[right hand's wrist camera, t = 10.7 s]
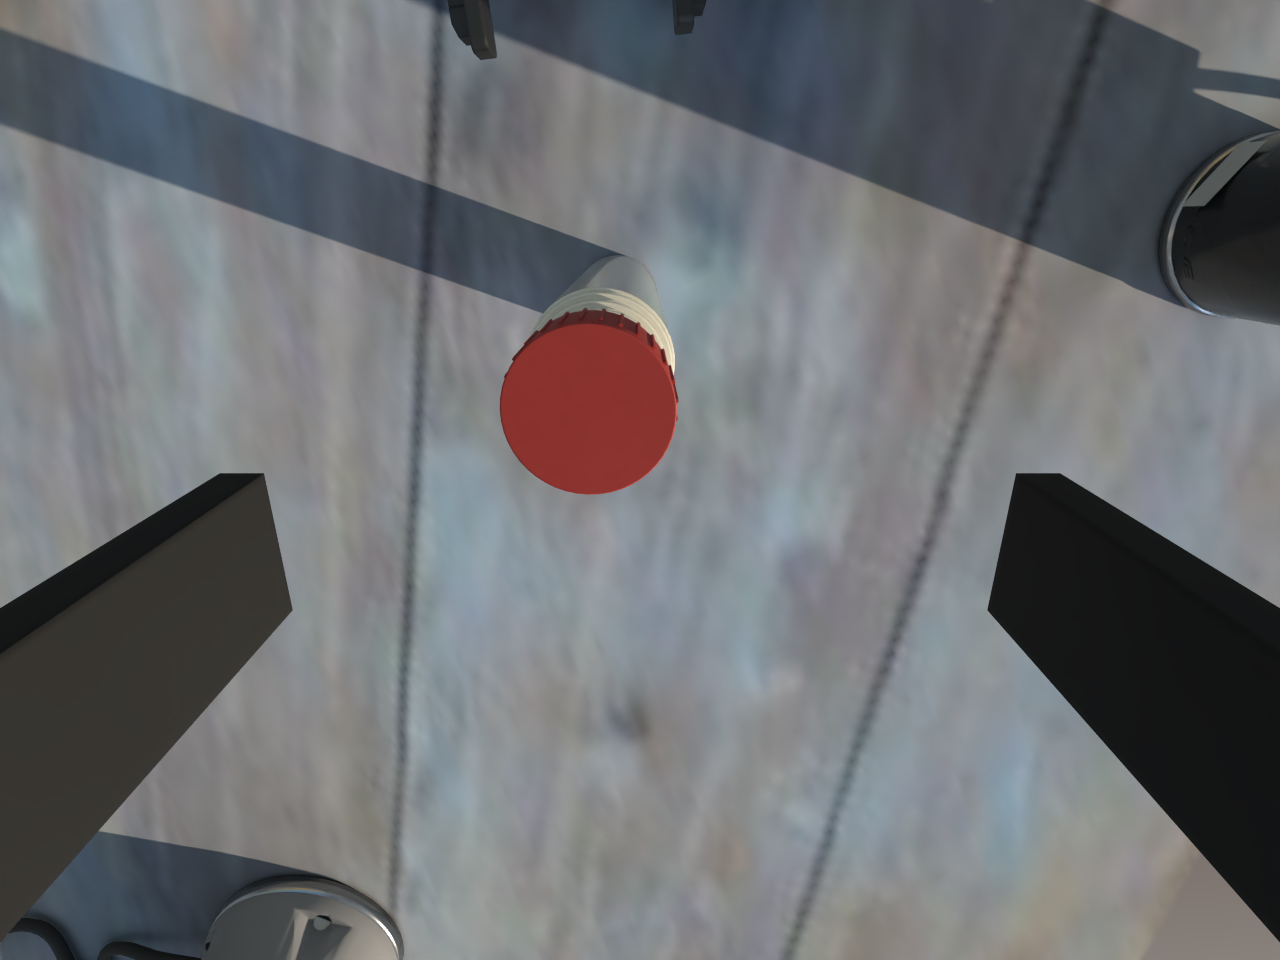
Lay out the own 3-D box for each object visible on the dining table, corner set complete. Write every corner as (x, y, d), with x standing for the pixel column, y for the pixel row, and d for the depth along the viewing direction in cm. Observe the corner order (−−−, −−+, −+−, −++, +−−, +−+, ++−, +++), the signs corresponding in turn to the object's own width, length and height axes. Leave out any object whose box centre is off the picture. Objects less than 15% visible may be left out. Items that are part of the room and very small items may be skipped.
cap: (517, 461, 18) (501, 494, 16) (512, 304, 17) (493, 317, 15) (670, 466, 19) (674, 499, 16) (678, 310, 17) (683, 323, 15)
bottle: (577, 336, 39) (496, 495, 17) (577, 253, 38) (487, 305, 15) (655, 338, 39) (680, 500, 17) (659, 256, 38) (692, 312, 15)
